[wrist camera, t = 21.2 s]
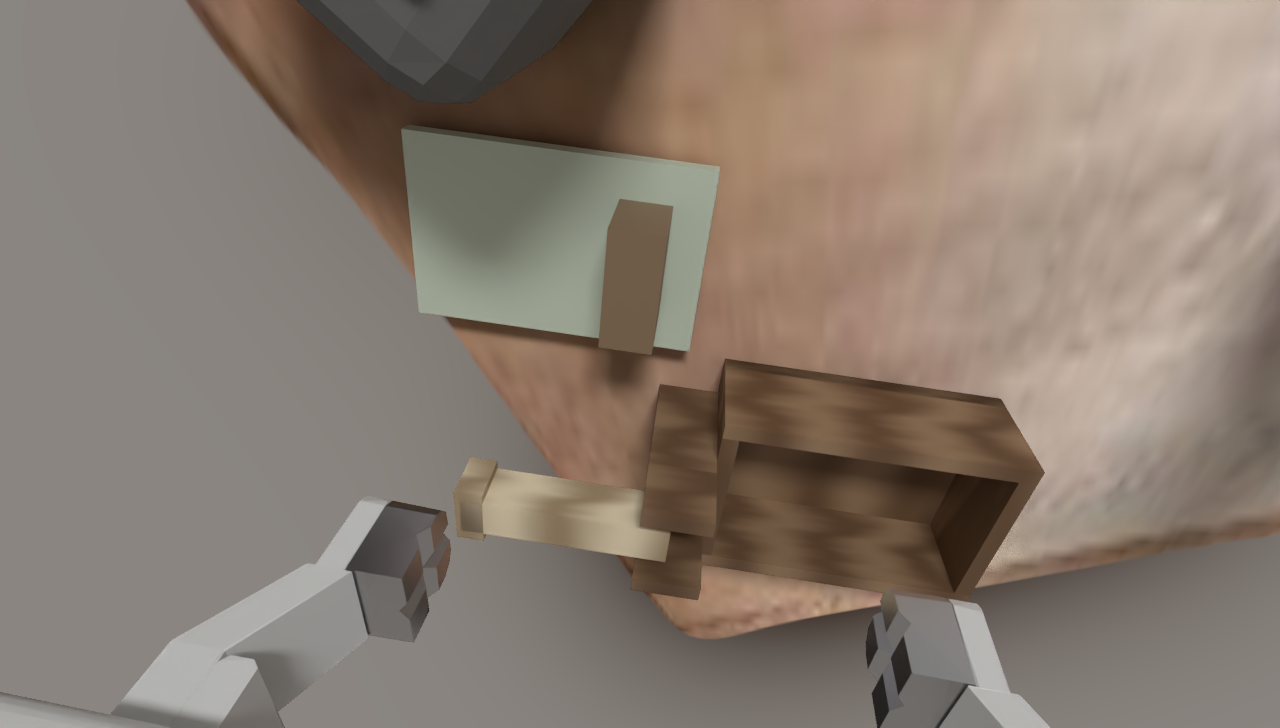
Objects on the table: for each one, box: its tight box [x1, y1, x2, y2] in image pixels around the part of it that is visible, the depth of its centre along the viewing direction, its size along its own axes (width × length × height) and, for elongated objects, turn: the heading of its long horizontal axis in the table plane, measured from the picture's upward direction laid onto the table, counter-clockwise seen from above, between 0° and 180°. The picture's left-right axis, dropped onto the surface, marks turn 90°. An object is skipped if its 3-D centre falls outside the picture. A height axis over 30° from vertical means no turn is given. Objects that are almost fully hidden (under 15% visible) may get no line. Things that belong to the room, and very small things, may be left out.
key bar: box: [454, 457, 671, 562], centre depth 38 cm, size 12×4×3 cm, turn 84°
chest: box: [630, 359, 1045, 602], centre depth 41 cm, size 22×12×12 cm, turn 84°
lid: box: [401, 125, 720, 355], centre depth 37 cm, size 17×11×6 cm, turn 84°
